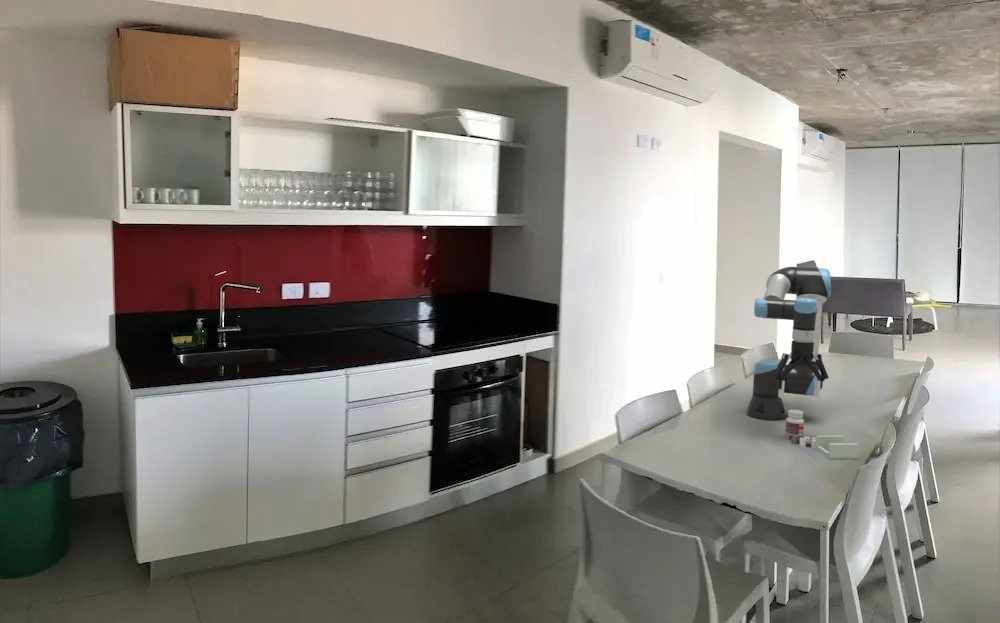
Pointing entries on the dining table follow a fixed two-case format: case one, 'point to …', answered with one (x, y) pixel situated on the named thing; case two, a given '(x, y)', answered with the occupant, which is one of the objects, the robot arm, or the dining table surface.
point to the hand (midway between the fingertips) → (798, 397)
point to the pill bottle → (794, 423)
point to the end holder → (836, 447)
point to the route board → (808, 446)
